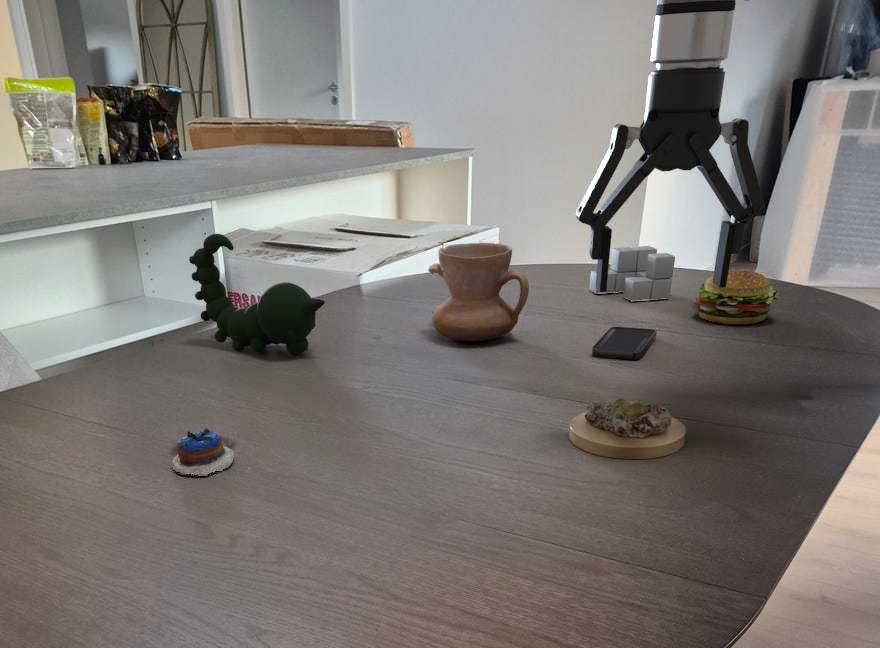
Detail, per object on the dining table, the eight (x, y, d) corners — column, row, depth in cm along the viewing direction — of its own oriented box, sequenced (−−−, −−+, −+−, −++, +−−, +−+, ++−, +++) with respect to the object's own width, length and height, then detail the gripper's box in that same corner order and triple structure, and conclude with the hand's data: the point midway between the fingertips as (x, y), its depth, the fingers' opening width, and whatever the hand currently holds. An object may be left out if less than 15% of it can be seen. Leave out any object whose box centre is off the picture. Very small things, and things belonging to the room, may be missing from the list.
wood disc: (668, 417, 111) (670, 406, 110) (697, 458, 100) (699, 446, 99) (561, 419, 112) (562, 408, 111) (578, 460, 100) (579, 448, 99)
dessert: (193, 442, 106) (208, 408, 102) (234, 475, 107) (251, 443, 103) (154, 470, 101) (168, 435, 97) (197, 505, 101) (213, 473, 97)
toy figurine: (197, 359, 146) (315, 363, 134) (170, 239, 136) (295, 232, 125) (232, 345, 153) (347, 348, 141) (208, 230, 143) (330, 222, 131)
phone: (590, 348, 134) (612, 325, 146) (590, 356, 135) (611, 332, 146) (640, 353, 132) (658, 329, 143) (640, 360, 132) (657, 336, 143)
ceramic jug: (410, 342, 145) (409, 252, 137) (448, 322, 156) (449, 238, 148) (507, 354, 138) (511, 260, 130) (540, 332, 148) (546, 244, 140)
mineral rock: (682, 402, 104) (668, 403, 98) (676, 438, 106) (661, 442, 99) (598, 393, 109) (578, 394, 103) (592, 428, 111) (573, 431, 104)
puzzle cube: (588, 291, 174) (592, 249, 169) (644, 287, 175) (649, 245, 171) (611, 304, 164) (616, 260, 160) (669, 300, 166) (675, 256, 161)
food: (766, 331, 145) (776, 281, 140) (684, 322, 151) (691, 275, 147) (783, 313, 154) (793, 266, 150) (705, 306, 161) (712, 261, 156)
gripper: (797, 60, 89) (757, 276, 101) (559, 71, 90) (547, 284, 102) (826, 60, 83) (780, 290, 95) (570, 72, 83) (556, 298, 95)
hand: (659, 287), depth 98 cm, fingers open, 13 cm apart
